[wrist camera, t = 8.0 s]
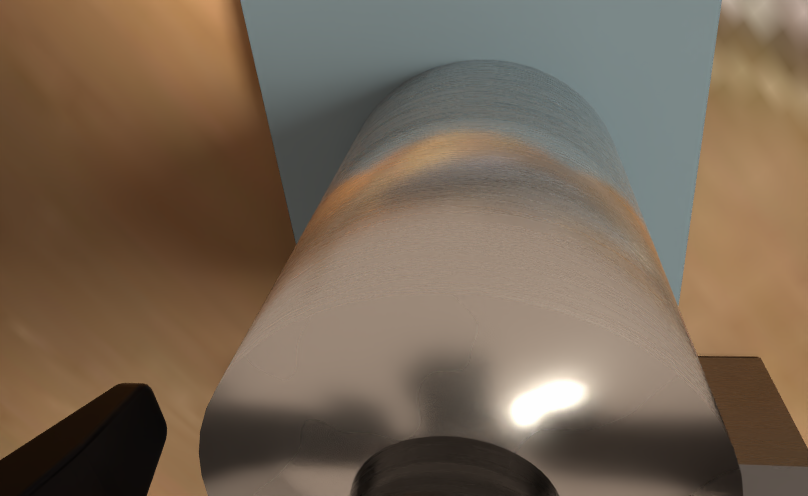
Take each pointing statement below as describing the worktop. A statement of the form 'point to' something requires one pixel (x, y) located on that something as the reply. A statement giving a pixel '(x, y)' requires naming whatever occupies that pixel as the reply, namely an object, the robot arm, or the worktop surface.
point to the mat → (493, 40)
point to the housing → (758, 427)
